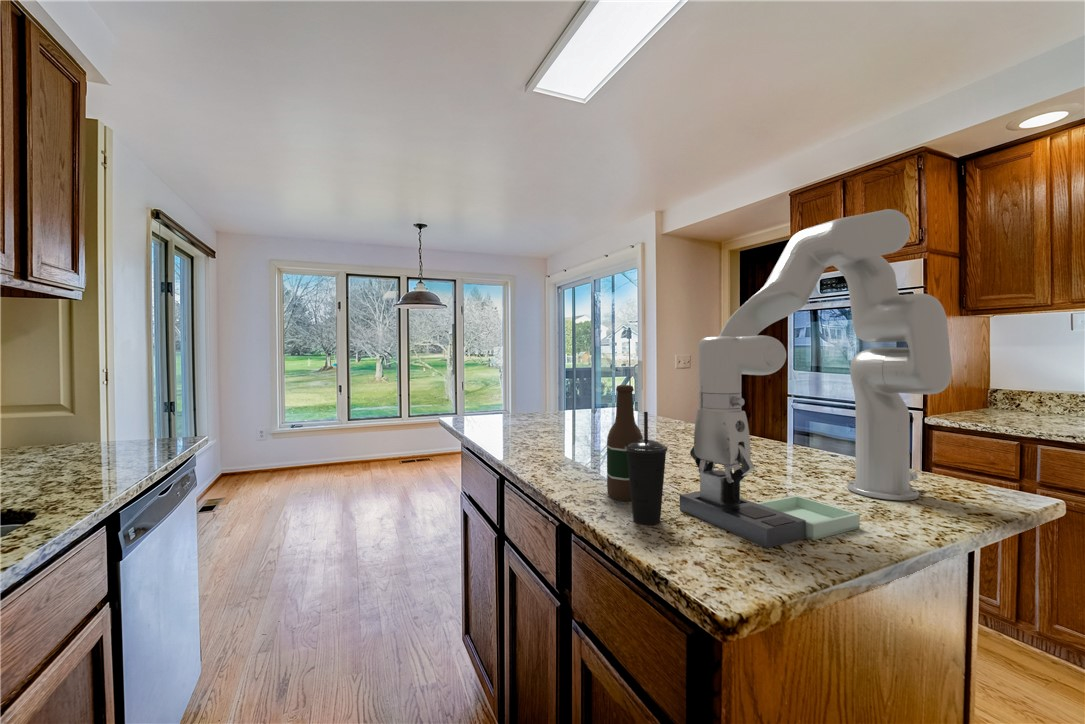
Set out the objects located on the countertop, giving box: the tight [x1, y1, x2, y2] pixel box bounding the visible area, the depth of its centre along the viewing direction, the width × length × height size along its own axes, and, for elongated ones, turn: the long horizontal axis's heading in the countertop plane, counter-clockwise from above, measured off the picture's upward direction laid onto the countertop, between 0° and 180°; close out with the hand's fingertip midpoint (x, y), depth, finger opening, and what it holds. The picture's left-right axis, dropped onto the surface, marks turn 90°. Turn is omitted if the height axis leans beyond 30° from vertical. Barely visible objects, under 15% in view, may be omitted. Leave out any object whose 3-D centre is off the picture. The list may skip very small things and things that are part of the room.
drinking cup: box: [625, 411, 668, 526], centre depth 84 cm, size 8×8×20 cm
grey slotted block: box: [679, 490, 807, 549], centre depth 83 cm, size 9×20×3 cm, turn 24°
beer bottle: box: [606, 384, 644, 502], centre depth 99 cm, size 8×8×24 cm
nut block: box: [699, 469, 740, 508], centre depth 87 cm, size 5×5×8 cm
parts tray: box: [756, 494, 861, 541], centre depth 83 cm, size 12×12×2 cm
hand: (719, 497), depth 87 cm, fingers closed on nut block, 5 cm apart
